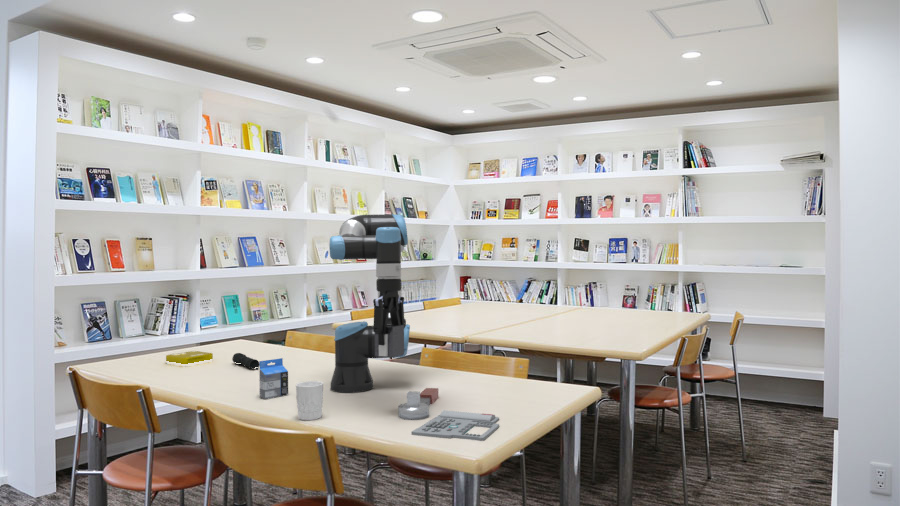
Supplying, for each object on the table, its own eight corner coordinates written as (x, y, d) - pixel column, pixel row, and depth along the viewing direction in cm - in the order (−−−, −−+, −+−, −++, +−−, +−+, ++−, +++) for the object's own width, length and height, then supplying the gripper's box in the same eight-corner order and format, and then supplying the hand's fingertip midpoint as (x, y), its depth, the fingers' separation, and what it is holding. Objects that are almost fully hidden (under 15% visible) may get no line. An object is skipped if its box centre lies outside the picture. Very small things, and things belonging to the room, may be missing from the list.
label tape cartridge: (264, 399, 212) (264, 362, 212) (259, 397, 215) (258, 361, 215) (288, 395, 218) (288, 359, 218) (283, 393, 221) (282, 357, 221)
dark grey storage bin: (392, 357, 188) (392, 326, 189) (374, 356, 191) (374, 326, 192) (404, 354, 194) (403, 325, 194) (386, 353, 197) (386, 324, 197)
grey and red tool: (424, 420, 184) (424, 396, 184) (394, 419, 186) (394, 395, 185) (445, 397, 212) (445, 376, 212) (419, 396, 214) (419, 375, 214)
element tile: (184, 368, 273) (184, 357, 273) (164, 365, 282) (164, 354, 282) (214, 362, 286) (214, 352, 286) (194, 359, 294) (194, 349, 294)
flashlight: (243, 363, 283) (243, 352, 283) (260, 369, 266) (260, 358, 266) (231, 364, 280) (231, 353, 280) (248, 371, 263) (248, 359, 263)
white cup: (298, 414, 193) (298, 381, 192) (325, 413, 193) (324, 380, 193) (294, 421, 185) (293, 387, 185) (322, 420, 185) (321, 386, 185)
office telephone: (443, 407, 192) (508, 412, 184) (444, 415, 192) (508, 421, 184) (411, 426, 170) (482, 433, 163) (411, 436, 170) (482, 444, 163)
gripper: (381, 279, 183) (382, 359, 182) (415, 277, 200) (416, 350, 200) (359, 279, 186) (360, 358, 186) (395, 277, 203) (396, 349, 203)
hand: (389, 354), depth 193 cm, fingers closed on dark grey storage bin, 6 cm apart
